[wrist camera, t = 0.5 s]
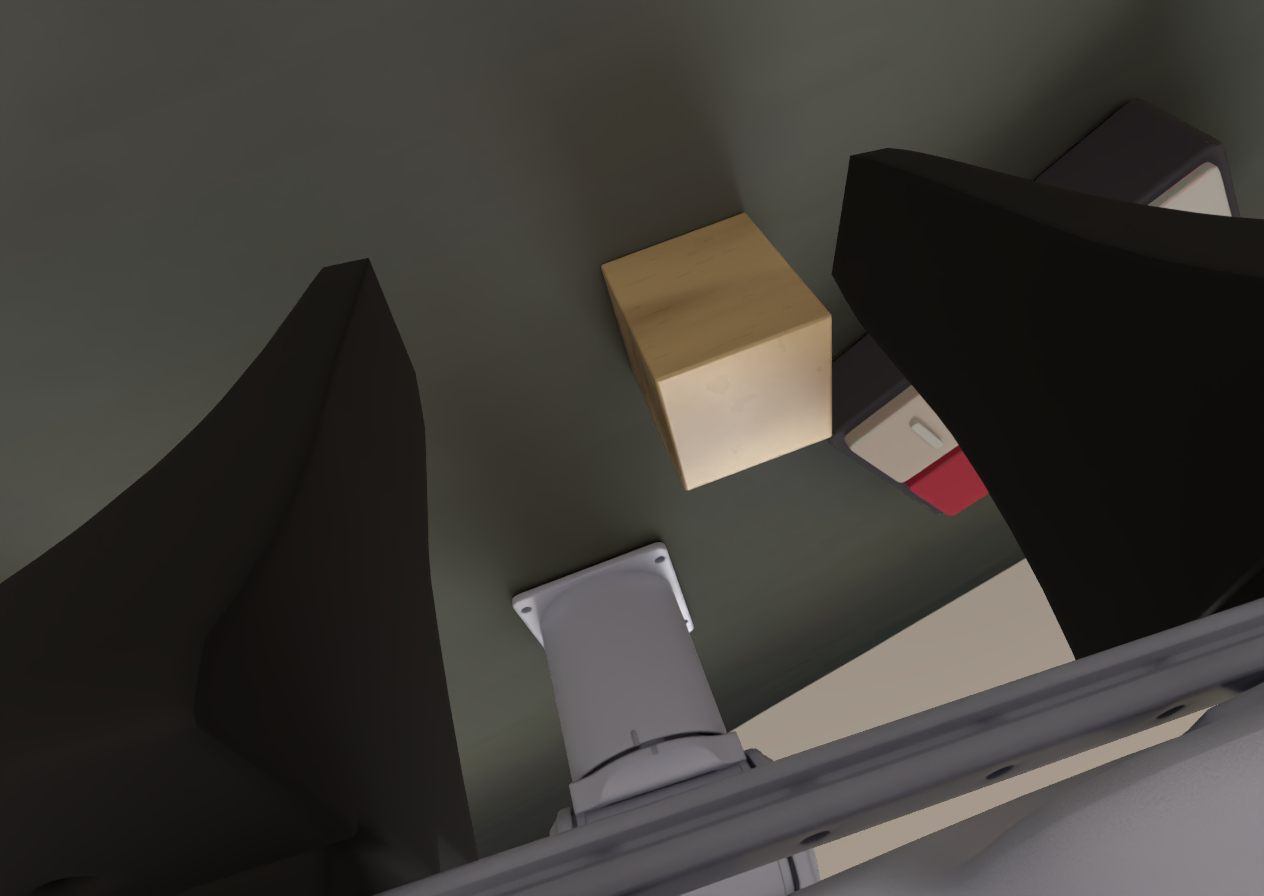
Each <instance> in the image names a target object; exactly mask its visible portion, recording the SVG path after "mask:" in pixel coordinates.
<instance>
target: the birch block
mask: <svg viewBox="0 0 1264 896" xmlns="http://www.w3.org/2000/svg"><path fill="white" fill-rule="evenodd" d="M601 269H602V273H603V276H604V279H605V282H606V286H607V289H608V292H609V296H610V299H611V302H612V305H613V309H614V312H615V315H616V318H617V322H618V325H619V328H620V331H621V335H622V338H623V341H624V344H625V348H626V351H627V354H628V357H629V361H630V364H631V367H632V371H633V374H634V376H635V379H636V381H637V383H638V385H639V388H640V390H641V392H642V394H643V397H644V399H645V401H646V403H647V406H648V408H649V410H650V413H651V415H652V417H653V419H654V422H655V424H656V426H657V428H658V431H659V433H660V435H661V437H662V440H663V442H664V444H665V446H666V449H667V451H668V453H669V455H670V458H671V460H672V462H673V464H674V467H675V469H676V471H677V473H678V476H679V478H680V480H681V482H682V485H683V487H684V489H685V490H686V491H689V490H692V489H694V488H697V487H700V486H702V485H705V484H708V483H710V482H713V481H716V480H718V479H721V478H723V477H726V476H729V475H731V474H734V473H737V472H739V471H742V470H745V469H747V468H750V467H753V466H755V465H758V464H761V463H763V462H766V461H769V460H771V459H774V458H777V457H779V456H782V455H785V454H787V453H790V452H793V451H795V450H798V449H801V448H803V447H806V446H809V445H811V444H814V443H817V442H819V441H822V440H825V439H827V438H830V437H831V436H832V316H831V314H830V313H829V312H828V310H827V309H826V308H825V307H824V306H823V304H822V303H821V302H820V301H819V300H818V298H817V297H816V296H815V295H814V294H813V293H812V291H811V290H810V289H809V288H808V287H807V285H806V284H805V283H804V282H803V281H802V279H801V278H800V277H799V276H798V275H797V273H796V272H795V271H794V270H793V269H792V268H791V266H790V265H789V264H788V263H787V262H786V260H785V259H784V258H783V257H782V256H781V254H780V253H779V252H778V251H777V250H776V249H775V247H774V246H773V245H772V244H771V243H770V241H769V240H768V239H767V238H766V237H765V235H764V234H763V233H762V232H761V231H760V230H759V228H758V227H757V226H756V225H755V224H754V222H753V221H752V220H751V219H750V218H749V216H748V215H747V214H746V213H741V214H739V215H736V216H733V217H730V218H728V219H725V220H722V221H719V222H717V223H714V224H711V225H709V226H706V227H703V228H700V229H698V230H695V231H692V232H690V233H687V234H684V235H681V236H679V237H676V238H673V239H671V240H668V241H665V242H662V243H660V244H657V245H654V246H651V247H649V248H646V249H643V250H641V251H638V252H635V253H632V254H630V255H627V256H624V257H622V258H619V259H616V260H613V261H611V262H608V263H605V264H603V265H602V266H601Z"/></svg>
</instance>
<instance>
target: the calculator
mask: <svg viewBox="0 0 1264 896" xmlns="http://www.w3.org/2000/svg"><path fill="white" fill-rule="evenodd" d="M1035 182H1039V183H1043V184H1047V185H1051V186H1055V187H1059V188H1063V189H1068V190H1073V191H1077V192H1082V193H1086V194H1091V195H1096V196H1100V197H1105V198H1109V199H1115V200H1120V201H1125V202H1131V203H1136V204H1142V205H1149V206H1156V207H1162V208H1169V209H1176V210H1182V211H1189V212H1196V213H1203V214H1212V215H1221V216H1230V217H1240V213H1239V209H1238V205H1237V201H1236V197H1235V193H1234V188H1233V184H1232V180H1231V176H1230V172H1229V168H1228V164H1227V159H1226V155H1225V151H1224V147H1223V145H1222V143H1221V142H1220V141H1218V140H1216V139H1215V138H1213V137H1211V136H1209V135H1207V134H1206V133H1204V132H1202V131H1200V130H1198V129H1196V128H1194V127H1193V126H1191V125H1189V124H1187V123H1185V122H1183V121H1181V120H1180V119H1178V118H1176V117H1174V116H1172V115H1170V114H1168V113H1166V112H1164V111H1163V110H1161V109H1159V108H1157V107H1155V106H1153V105H1151V104H1149V103H1147V102H1146V101H1143V100H1141V99H1135V100H1132V101H1130V102H1128V103H1127V104H1126V105H1124V106H1123V107H1122V108H1121V109H1119V110H1118V111H1117V112H1116V113H1115V114H1113V115H1112V116H1111V117H1110V118H1109V119H1107V120H1106V121H1105V122H1104V123H1103V124H1101V125H1100V126H1099V127H1098V128H1097V129H1095V130H1094V131H1093V132H1092V133H1091V134H1089V135H1088V136H1087V137H1086V138H1085V139H1083V140H1082V141H1081V142H1080V143H1079V144H1077V145H1076V146H1075V147H1074V148H1073V149H1071V150H1070V151H1069V152H1068V153H1067V154H1065V155H1064V156H1063V157H1062V158H1061V159H1059V160H1058V161H1057V162H1056V163H1055V164H1053V165H1052V166H1051V167H1050V168H1049V169H1047V170H1046V171H1045V172H1044V173H1043V174H1041V175H1040V176H1039V177H1038V178H1037V179H1036V180H1035ZM827 441H828V442H829V443H830V444H831V445H832V446H834V447H835V448H837V449H838V450H840V451H841V452H843V453H844V454H846V455H847V456H849V457H851V458H852V459H854V460H855V461H857V462H858V463H860V464H861V465H863V466H864V467H866V468H867V469H869V470H870V471H872V472H873V473H875V474H876V475H878V476H879V477H881V478H882V479H884V480H885V481H887V482H888V483H890V484H891V485H893V486H894V487H896V488H897V489H899V490H900V491H902V492H903V493H905V494H906V495H908V496H909V497H911V498H912V499H914V500H915V501H917V502H918V503H920V504H921V505H923V506H925V507H926V508H928V509H929V510H931V511H932V512H934V513H935V514H943V513H944V514H946V515H948V516H953V515H955V514H957V513H958V512H960V511H962V510H963V509H965V508H966V507H968V506H969V505H971V504H972V503H974V502H976V501H977V500H979V499H980V498H982V497H983V496H985V495H986V494H988V493H989V492H988V491H987V489H986V487H985V485H984V484H983V482H982V481H981V479H980V477H979V476H978V474H977V473H976V471H975V470H974V468H973V467H972V465H971V464H970V462H969V460H968V459H967V457H966V456H965V454H964V453H963V451H962V450H961V448H960V447H959V445H958V443H957V442H956V440H955V439H954V437H953V436H952V434H951V433H950V432H949V431H948V429H947V428H946V427H945V425H944V424H943V423H942V421H941V420H940V419H939V417H938V416H937V415H936V413H935V412H934V411H933V410H932V409H931V408H930V406H929V405H928V404H927V403H926V402H925V400H924V399H923V398H922V397H921V396H920V394H919V393H918V392H917V391H916V390H915V388H914V387H913V386H912V385H911V384H910V383H909V381H908V380H907V379H906V378H905V377H904V375H903V374H902V373H901V372H900V371H899V369H898V368H897V367H896V366H895V365H894V363H893V362H892V361H891V360H890V359H889V358H888V356H887V355H886V354H885V353H884V352H883V350H882V349H881V348H880V347H879V345H878V344H877V343H876V342H875V341H874V339H873V338H872V337H871V336H870V334H869V333H868V334H867V335H866V336H865V337H864V338H862V339H861V340H860V341H859V342H857V343H856V344H855V345H854V346H853V347H851V348H850V349H849V350H848V351H847V352H845V353H844V354H843V355H842V356H840V357H839V358H838V359H837V360H836V361H834V362H833V363H832V436H831V437H830V438H827Z"/></svg>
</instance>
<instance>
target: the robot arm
mask: <svg viewBox="0 0 1264 896" xmlns="http://www.w3.org/2000/svg"><path fill="white" fill-rule="evenodd" d="M832 275H833V277H834V279H835V281H836V283H837V285H838V286H839V288H840V290H841V292H842V294H843V295H844V297H845V299H846V301H847V303H848V304H849V306H850V307H851V309H852V311H853V312H854V314H855V316H856V317H857V319H858V320H859V322H860V323H861V324H862V326H863V327H864V328H865V329H866V331H867V332H868V333H869V334H870V336H871V337H872V338H873V339H874V341H875V342H876V343H877V344H878V345H879V347H880V348H881V349H882V350H883V352H884V353H885V354H886V355H887V356H888V358H889V359H890V360H891V361H892V362H893V363H894V365H895V366H896V367H897V368H898V369H899V371H900V372H901V373H902V374H903V375H904V377H905V378H906V379H907V380H908V381H909V383H910V384H911V385H912V386H913V387H914V388H915V390H916V391H917V392H918V393H919V394H920V396H921V397H922V398H923V399H924V400H925V402H926V403H927V404H928V405H929V406H930V408H931V409H932V410H933V411H934V412H935V413H936V415H937V416H938V417H939V419H940V420H941V421H942V423H943V424H944V425H945V427H946V428H947V429H948V431H949V432H950V433H951V434H952V436H953V437H954V439H955V440H956V442H957V443H958V445H959V447H960V448H961V450H962V451H963V453H964V454H965V456H966V457H967V459H968V460H969V462H970V464H971V465H972V467H973V468H974V470H975V471H976V473H977V474H978V476H979V477H980V479H981V481H982V482H983V484H984V485H985V487H986V489H987V491H988V492H989V494H990V496H991V497H992V499H993V501H994V502H995V504H996V506H997V507H998V509H999V511H1000V512H1001V514H1002V516H1003V518H1004V519H1005V521H1006V523H1007V524H1008V526H1009V528H1010V529H1011V531H1012V533H1013V535H1014V537H1015V538H1016V540H1017V542H1018V544H1019V546H1020V548H1021V550H1022V552H1023V553H1024V555H1025V557H1026V559H1027V561H1028V563H1029V565H1030V566H1031V568H1032V570H1033V572H1034V574H1035V576H1036V578H1037V580H1038V582H1039V583H1040V585H1041V587H1042V589H1043V591H1044V593H1045V595H1046V597H1047V600H1048V602H1049V604H1050V606H1051V608H1052V610H1053V612H1054V614H1055V616H1056V618H1057V621H1058V623H1059V625H1060V627H1061V629H1062V631H1063V633H1064V635H1065V637H1066V640H1067V642H1068V644H1069V646H1070V648H1071V650H1072V652H1073V654H1074V657H1075V659H1076V660H1075V661H1072V662H1069V663H1067V664H1063V665H1060V666H1057V667H1054V668H1051V669H1048V670H1045V671H1042V672H1040V673H1036V674H1034V675H1030V676H1028V677H1024V678H1021V679H1018V680H1016V681H1012V682H1009V683H1006V684H1004V685H1000V686H997V687H994V688H991V689H989V690H985V691H983V692H980V693H976V694H974V695H970V696H968V697H965V698H962V699H959V700H956V701H953V702H950V703H947V704H944V705H941V706H938V707H935V708H932V709H929V710H926V711H923V712H920V713H917V714H914V715H911V716H908V717H905V718H902V719H899V720H896V721H893V722H890V723H887V724H884V725H881V726H878V727H875V728H872V729H869V730H866V731H863V732H860V733H857V734H854V735H851V736H848V737H845V738H842V739H839V740H836V741H833V742H830V743H827V744H824V745H821V746H818V747H815V748H812V749H809V750H806V751H803V752H800V753H797V754H794V755H791V756H788V757H785V758H782V759H779V760H776V761H773V760H772V759H770V758H768V757H767V756H765V755H763V754H762V753H761V752H760V751H759V750H757V749H748V750H745V751H743V749H742V746H741V743H740V740H739V738H738V736H737V733H736V732H730V733H727V732H726V729H725V727H724V724H723V721H722V719H721V716H720V713H719V711H718V708H717V705H716V703H715V700H714V697H713V695H712V692H711V689H710V687H709V684H708V681H707V679H706V676H705V673H704V671H703V668H702V666H701V663H700V660H699V658H698V655H697V652H696V650H695V647H694V644H693V642H692V639H691V636H690V634H689V632H691V631H692V630H693V628H694V626H693V623H692V620H691V617H690V614H689V611H688V609H687V606H686V603H685V600H684V597H683V594H682V591H681V589H680V586H679V583H678V580H677V577H676V574H675V571H674V569H673V566H672V563H671V560H670V557H669V554H668V551H667V549H666V546H665V544H664V543H661V542H656V543H653V544H650V545H647V546H645V547H642V548H639V549H637V550H634V551H631V552H629V553H626V554H623V555H621V556H618V557H615V558H613V559H610V560H608V561H605V562H602V563H600V564H597V565H594V566H592V567H589V568H586V569H584V570H581V571H578V572H576V573H573V574H570V575H568V576H565V577H562V578H560V579H557V580H554V581H552V582H549V583H547V584H544V585H541V586H539V587H536V588H533V589H531V590H528V591H525V592H523V593H520V594H518V595H516V596H515V597H514V598H513V599H512V605H513V608H514V610H515V611H516V612H517V614H518V615H519V616H520V618H521V619H522V620H523V621H524V623H525V624H526V625H527V627H528V628H529V629H530V631H531V632H532V633H533V635H534V636H535V637H536V638H537V640H538V641H539V642H540V644H541V645H542V646H543V648H544V649H545V652H546V657H547V662H548V667H549V672H550V676H551V681H552V686H553V691H554V695H555V700H556V705H557V710H558V714H559V719H560V724H561V729H562V734H563V738H564V743H565V748H566V753H567V757H568V762H569V767H570V772H571V777H572V781H573V782H572V783H570V785H569V787H570V792H571V797H572V802H573V807H574V812H575V815H574V813H573V810H572V808H571V807H568V808H565V809H562V810H560V811H559V812H558V814H557V820H555V822H554V824H553V826H552V828H551V830H550V836H549V837H546V838H543V839H540V840H537V841H534V842H531V843H528V844H525V845H522V846H519V847H516V848H513V849H510V850H507V851H504V852H501V853H498V854H495V855H492V856H489V857H486V858H483V859H480V860H479V858H478V853H477V848H476V843H475V838H474V832H473V827H472V822H471V817H470V812H469V807H468V801H467V796H466V791H465V786H464V781H463V776H462V770H461V764H460V759H459V753H458V747H457V742H456V736H455V730H454V725H453V719H452V713H451V708H450V702H449V696H448V690H447V683H446V677H445V671H444V665H443V658H442V652H441V646H440V640H439V633H438V626H437V619H436V612H435V605H434V598H433V591H432V585H431V576H430V563H429V546H428V509H427V472H426V442H425V426H424V419H423V413H422V407H421V401H420V396H419V390H418V385H417V379H416V374H415V370H414V368H413V365H412V363H411V361H410V358H409V356H408V353H407V351H406V348H405V346H404V343H403V341H402V338H401V336H400V334H399V331H398V329H397V326H396V324H395V321H394V319H393V316H392V314H391V312H390V309H389V307H388V304H387V302H386V299H385V297H384V294H383V292H382V289H381V287H380V285H379V282H378V280H377V277H376V275H375V272H374V270H373V267H372V265H371V262H370V260H369V258H366V259H361V260H356V261H351V262H347V263H342V264H337V265H333V266H328V267H324V268H323V269H322V270H321V271H320V272H319V273H318V275H317V276H316V277H315V279H314V280H313V281H312V283H311V284H310V285H309V287H308V288H307V290H306V291H305V292H304V294H303V295H302V297H301V298H300V300H299V301H298V302H297V304H296V305H295V307H294V308H293V310H292V311H291V312H290V314H289V315H288V317H287V318H286V319H285V321H284V322H283V323H282V325H281V326H280V327H279V329H278V330H277V332H276V333H275V334H274V336H273V337H272V338H271V340H270V341H269V343H268V344H267V345H266V347H265V348H264V349H263V351H262V352H261V353H260V354H259V355H258V357H257V358H256V359H255V360H254V361H253V363H252V364H251V365H250V366H249V367H248V369H247V370H246V371H245V372H244V373H243V375H242V376H241V377H240V378H239V379H238V381H237V382H236V383H235V384H234V385H233V387H232V388H231V389H230V390H229V391H228V393H227V394H226V395H225V396H224V397H223V399H222V400H221V401H220V402H219V403H218V404H217V405H216V406H215V407H214V409H213V410H212V411H211V412H210V413H209V414H208V415H207V416H206V417H205V418H204V419H203V420H202V421H201V422H200V423H199V424H198V425H197V426H196V427H195V428H194V429H193V430H192V431H191V432H190V433H189V434H188V435H187V436H186V437H185V438H184V439H183V440H182V441H181V442H180V443H179V444H178V445H177V446H176V447H175V448H174V449H172V450H171V451H170V452H169V453H168V454H167V455H166V456H165V457H164V458H163V459H162V460H161V461H160V462H159V463H157V464H156V465H155V466H154V467H153V468H152V469H151V470H149V471H148V472H147V473H146V474H145V475H143V476H142V477H141V478H140V479H138V480H137V481H136V482H135V483H134V484H132V485H131V486H130V487H129V488H127V489H126V490H125V491H124V492H123V493H121V494H120V495H119V496H118V497H117V498H115V499H114V500H113V501H112V502H110V503H109V504H108V505H107V506H106V507H104V508H103V509H102V510H101V511H99V512H98V513H97V514H96V515H95V516H93V517H92V518H91V519H90V520H89V521H87V522H86V523H85V524H83V525H82V526H81V527H79V528H78V529H77V530H75V531H74V532H73V533H71V534H70V535H69V536H67V537H66V538H65V539H63V540H62V541H60V542H59V543H58V544H56V545H55V546H54V547H52V548H51V549H49V550H48V551H47V552H45V553H44V554H43V555H41V556H40V557H38V558H37V559H36V560H34V561H33V562H31V563H30V564H28V565H27V566H25V567H24V568H23V569H21V570H20V571H18V572H17V573H15V574H14V575H12V576H11V577H9V578H8V579H6V580H5V581H4V582H2V583H1V584H0V896H1264V219H1252V218H1240V217H1230V216H1221V215H1212V214H1203V213H1196V212H1189V211H1182V210H1176V209H1169V208H1162V207H1156V206H1149V205H1142V204H1136V203H1131V202H1125V201H1120V200H1115V199H1109V198H1105V197H1100V196H1096V195H1091V194H1086V193H1082V192H1077V191H1073V190H1068V189H1063V188H1059V187H1055V186H1051V185H1047V184H1043V183H1039V182H1035V181H1031V180H1027V179H1023V178H1019V177H1015V176H1011V175H1007V174H1004V173H1000V172H996V171H992V170H988V169H985V168H981V167H977V166H973V165H969V164H966V163H962V162H958V161H954V160H950V159H946V158H942V157H938V156H933V155H929V154H924V153H920V152H914V151H909V150H902V149H893V148H885V149H880V150H876V151H871V152H866V153H861V154H857V155H852V156H850V161H849V167H848V174H847V180H846V186H845V193H844V199H843V206H842V212H841V218H840V225H839V231H838V237H837V244H836V250H835V256H834V263H833V269H832ZM1217 704H1218V705H1217ZM1214 705H1216V706H1214ZM1211 706H1214V707H1212V708H1210V709H1208V710H1207V711H1206V712H1205V713H1204V714H1203V715H1202V717H1200V718H1199V719H1198V720H1197V722H1196V723H1195V724H1194V725H1193V726H1192V727H1191V728H1190V729H1189V730H1188V731H1187V732H1185V733H1184V734H1183V735H1181V736H1180V737H1177V738H1174V739H1171V740H1169V741H1166V742H1163V743H1160V744H1157V745H1155V746H1152V747H1149V748H1146V749H1144V750H1141V751H1138V752H1136V753H1132V754H1130V755H1127V756H1124V757H1121V758H1119V759H1117V760H1114V761H1111V762H1109V763H1106V764H1104V765H1101V766H1098V767H1096V768H1093V769H1091V770H1088V771H1086V772H1083V773H1080V774H1078V775H1075V776H1073V777H1070V778H1068V779H1065V780H1062V781H1060V782H1057V783H1055V784H1052V785H1049V786H1047V787H1044V788H1042V789H1039V790H1036V791H1034V792H1032V793H1029V794H1026V795H1024V796H1021V797H1019V798H1016V799H1014V800H1012V801H1009V802H1007V803H1004V804H1002V805H999V806H997V807H994V808H992V809H990V810H987V811H985V812H982V813H980V814H978V815H975V816H973V817H971V818H968V819H966V820H963V821H961V822H958V823H956V824H954V825H951V826H949V827H946V828H944V829H941V830H939V831H937V832H934V833H932V834H929V835H927V836H925V837H922V838H920V839H917V840H915V841H913V842H910V843H908V844H906V845H903V846H901V847H899V848H896V849H894V850H892V851H889V852H887V853H885V854H882V855H880V856H877V857H875V858H873V859H870V860H868V861H866V862H863V863H861V864H859V865H856V866H854V867H852V868H849V869H847V870H845V871H843V872H840V873H838V874H835V875H833V876H831V877H828V878H826V879H824V880H821V881H820V876H819V870H818V864H817V860H816V856H815V852H814V847H817V846H820V845H822V844H825V843H828V842H831V841H834V840H837V839H840V838H842V837H845V836H848V835H851V834H853V833H857V832H859V831H862V830H865V829H868V828H871V827H873V826H876V825H879V824H882V823H884V822H887V821H890V820H893V819H896V818H899V817H902V816H904V815H907V814H910V813H913V812H915V811H918V810H921V809H924V808H927V807H930V806H933V805H935V804H938V803H941V802H944V801H947V800H949V799H952V798H955V797H958V796H960V795H963V794H966V793H969V792H972V791H975V790H978V789H980V788H983V787H986V786H989V785H992V784H994V783H997V782H1000V781H1003V780H1005V779H1009V778H1011V777H1014V776H1017V775H1020V774H1023V773H1025V772H1028V771H1031V770H1034V769H1036V768H1039V767H1042V766H1045V765H1048V764H1051V763H1054V762H1056V761H1059V760H1062V759H1065V758H1068V757H1070V756H1073V755H1076V754H1079V753H1081V752H1084V751H1087V750H1090V749H1093V748H1096V747H1098V746H1101V745H1104V744H1107V743H1110V742H1113V741H1115V740H1118V739H1121V738H1124V737H1127V736H1130V735H1132V734H1135V733H1138V732H1141V731H1143V730H1146V729H1149V728H1152V727H1155V726H1158V725H1160V724H1163V723H1166V722H1169V721H1172V720H1175V719H1177V718H1180V717H1183V716H1185V715H1188V714H1191V713H1194V712H1197V711H1200V710H1203V709H1206V708H1208V707H1211Z"/></svg>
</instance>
